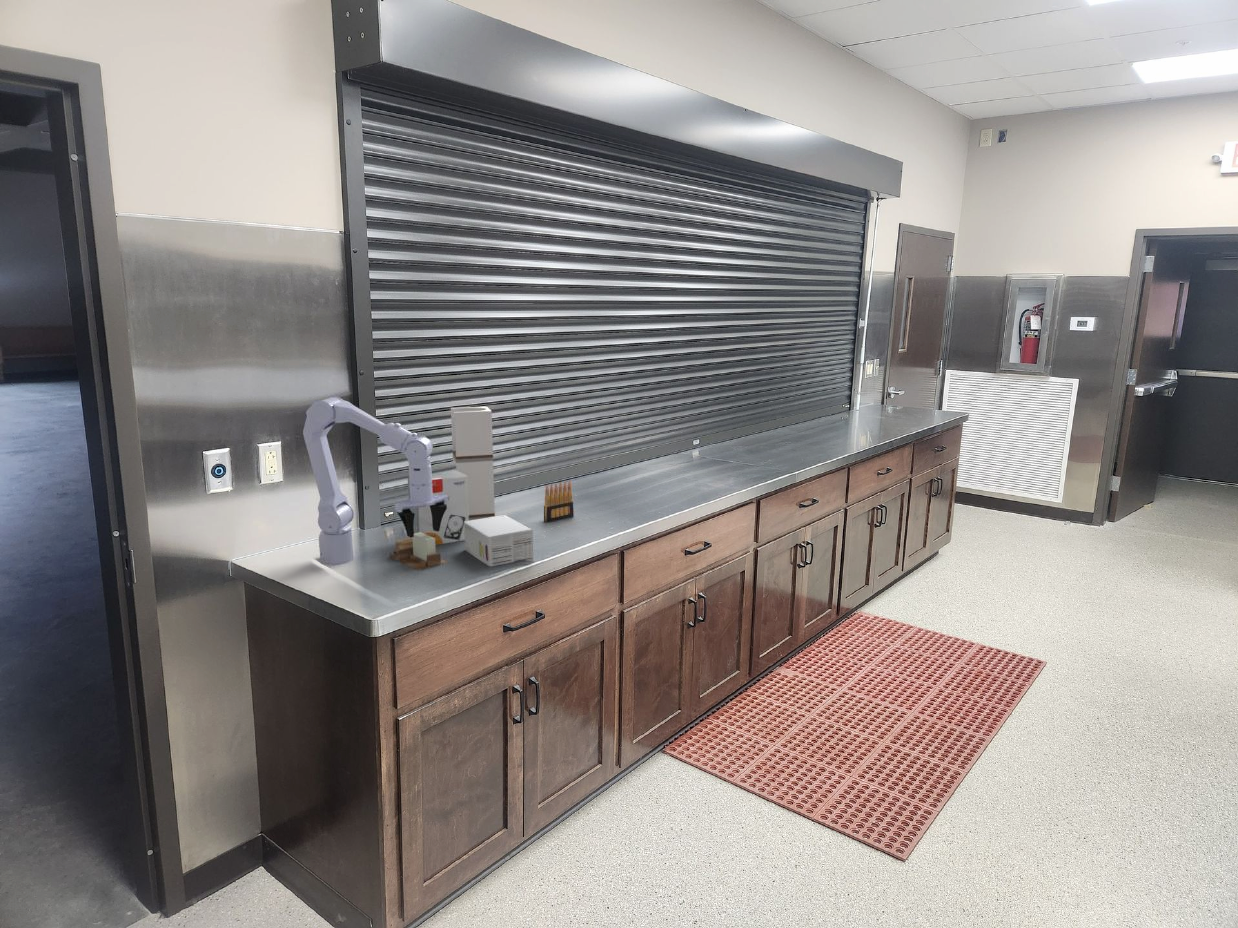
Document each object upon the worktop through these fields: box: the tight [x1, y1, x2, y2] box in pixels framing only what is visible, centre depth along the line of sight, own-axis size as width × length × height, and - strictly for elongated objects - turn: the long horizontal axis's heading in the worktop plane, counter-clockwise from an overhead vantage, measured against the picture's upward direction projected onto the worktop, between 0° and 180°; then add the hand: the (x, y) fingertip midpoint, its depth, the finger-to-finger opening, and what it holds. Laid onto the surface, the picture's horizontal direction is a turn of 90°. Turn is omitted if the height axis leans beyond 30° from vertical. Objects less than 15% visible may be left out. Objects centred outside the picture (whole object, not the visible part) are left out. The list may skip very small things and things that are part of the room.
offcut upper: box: [395, 537, 413, 550], centre depth 216 cm, size 3×6×2 cm, turn 137°
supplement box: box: [464, 514, 534, 567], centre depth 218 cm, size 17×13×9 cm
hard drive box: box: [407, 471, 469, 546], centre depth 229 cm, size 16×8×20 cm, turn 122°
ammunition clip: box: [543, 480, 575, 523], centre depth 255 cm, size 11×2×12 cm, turn 131°
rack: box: [389, 547, 449, 571], centre depth 213 cm, size 15×9×4 cm, turn 43°
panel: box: [412, 532, 437, 562], centre depth 212 cm, size 8×2×7 cm, turn 43°
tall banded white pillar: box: [450, 406, 496, 521], centre depth 255 cm, size 11×11×35 cm
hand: (423, 533), depth 211 cm, fingers open, 7 cm apart
